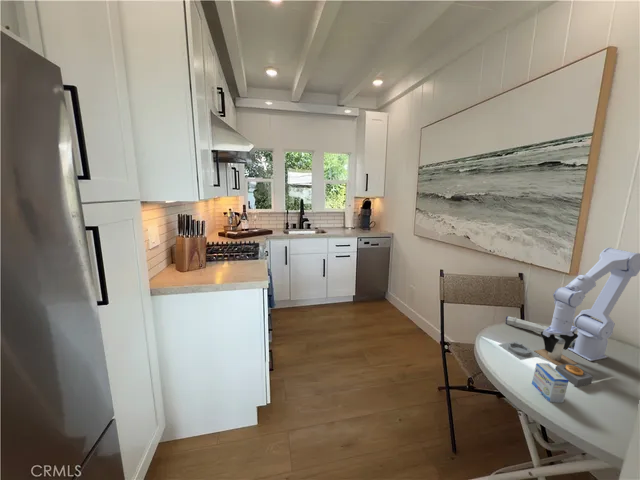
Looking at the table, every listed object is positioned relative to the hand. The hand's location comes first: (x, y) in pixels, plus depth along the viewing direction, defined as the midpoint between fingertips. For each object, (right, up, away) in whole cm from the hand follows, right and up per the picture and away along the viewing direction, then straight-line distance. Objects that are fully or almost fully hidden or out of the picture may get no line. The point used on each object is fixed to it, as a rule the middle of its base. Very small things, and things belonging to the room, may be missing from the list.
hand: (555, 349), depth 104 cm
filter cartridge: (0, -3, +1) cm, 3 cm away
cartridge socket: (-11, -3, +5) cm, 12 cm away
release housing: (-3, -6, -10) cm, 12 cm away
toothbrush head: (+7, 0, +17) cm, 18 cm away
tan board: (+1, -4, +1) cm, 4 cm away
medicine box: (-18, -8, -16) cm, 25 cm away
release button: (-3, -6, -10) cm, 12 cm away
